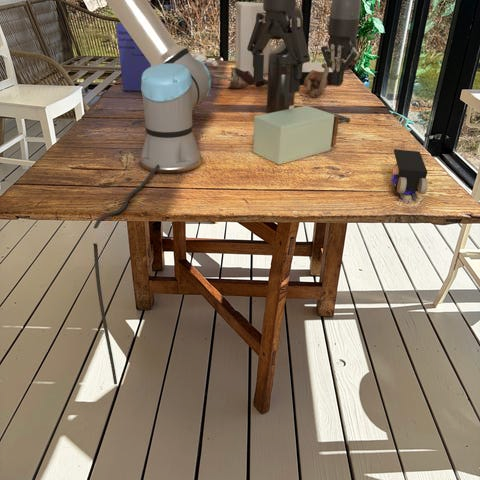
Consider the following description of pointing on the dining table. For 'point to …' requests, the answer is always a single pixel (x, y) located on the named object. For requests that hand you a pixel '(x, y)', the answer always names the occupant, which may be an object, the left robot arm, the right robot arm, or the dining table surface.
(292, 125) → the pale green rectangular box
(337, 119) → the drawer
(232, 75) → the figurine
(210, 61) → the toy
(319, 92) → the anatomical model
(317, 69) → the disc drive
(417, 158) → the figurine character
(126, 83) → the cereal box
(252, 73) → the tall white carton
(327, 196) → the dining table surface
